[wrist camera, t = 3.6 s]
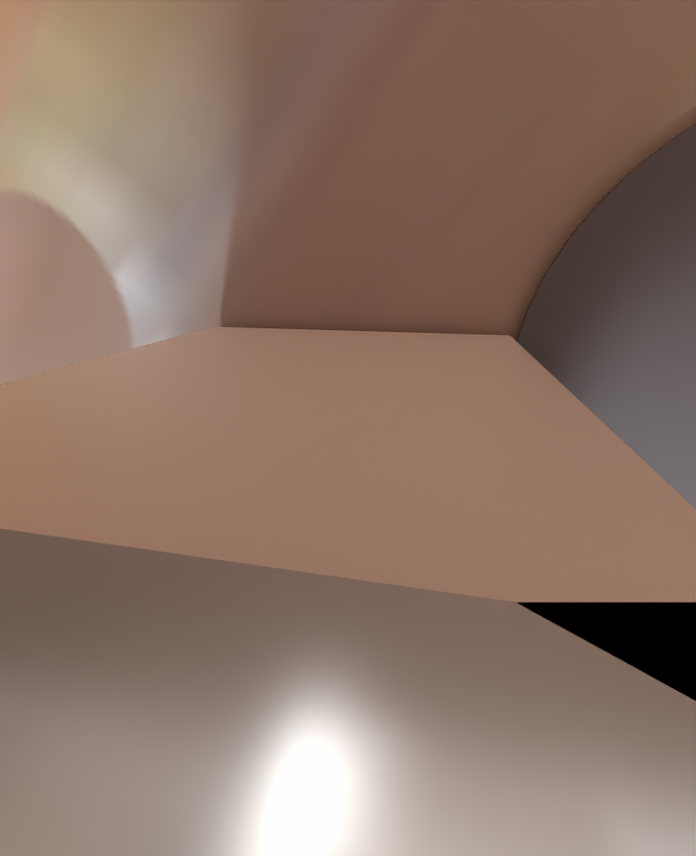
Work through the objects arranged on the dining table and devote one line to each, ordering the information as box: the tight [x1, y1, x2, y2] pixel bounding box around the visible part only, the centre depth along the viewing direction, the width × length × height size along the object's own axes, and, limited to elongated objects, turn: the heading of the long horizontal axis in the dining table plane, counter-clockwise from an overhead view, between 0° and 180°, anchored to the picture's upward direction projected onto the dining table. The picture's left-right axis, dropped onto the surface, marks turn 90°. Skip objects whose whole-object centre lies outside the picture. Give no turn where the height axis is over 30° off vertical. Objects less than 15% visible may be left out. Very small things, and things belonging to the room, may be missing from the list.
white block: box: [0, 327, 696, 856], centre depth 8 cm, size 8×8×9 cm
